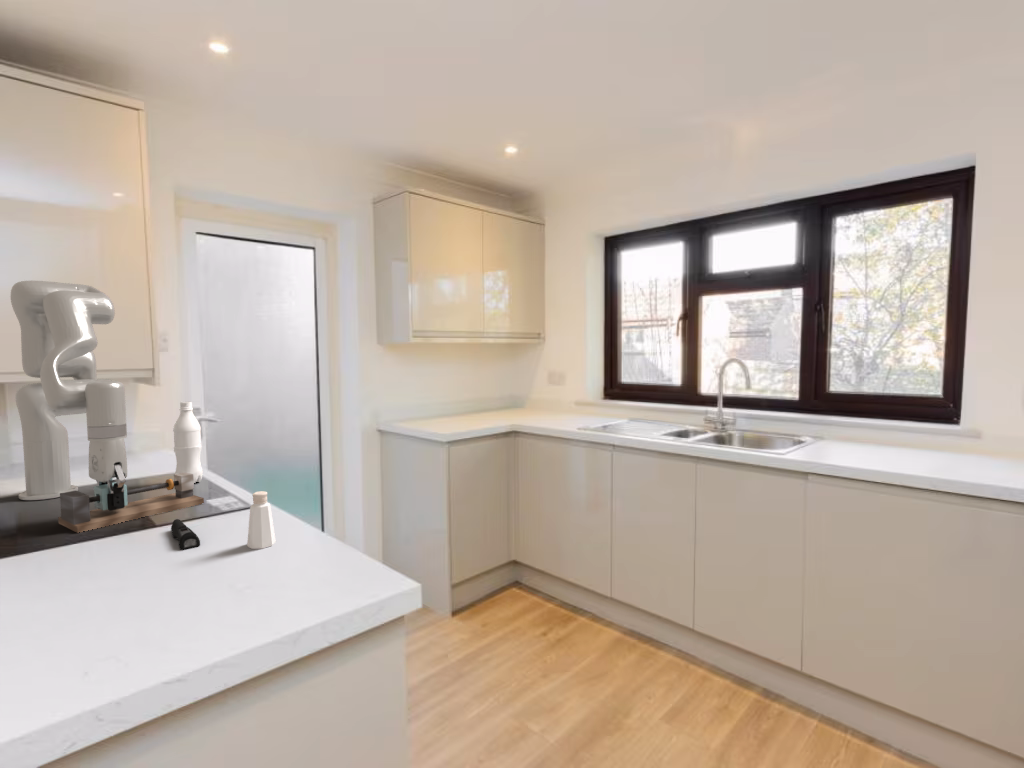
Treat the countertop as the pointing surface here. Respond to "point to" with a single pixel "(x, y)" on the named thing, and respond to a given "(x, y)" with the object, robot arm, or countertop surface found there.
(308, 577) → the countertop surface
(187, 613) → the countertop surface
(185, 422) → the water bottle
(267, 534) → the pepper shaker
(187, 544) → the electric trimmer
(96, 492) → the sleeve
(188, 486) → the linear slide rail
